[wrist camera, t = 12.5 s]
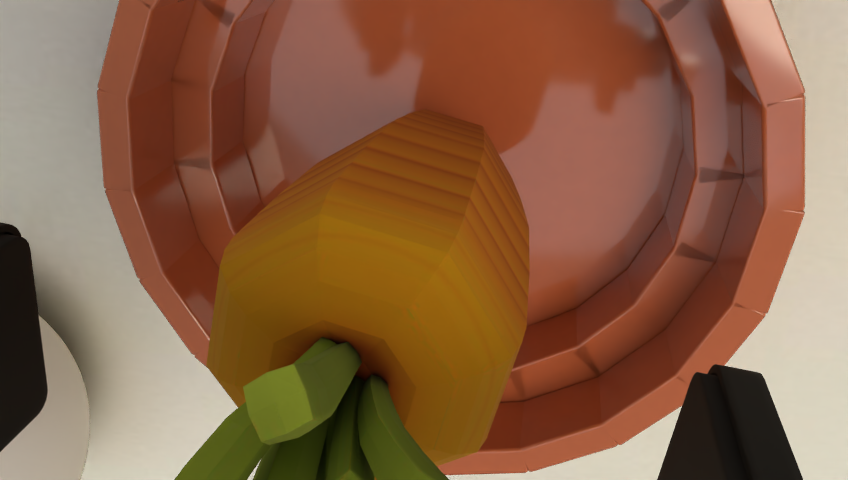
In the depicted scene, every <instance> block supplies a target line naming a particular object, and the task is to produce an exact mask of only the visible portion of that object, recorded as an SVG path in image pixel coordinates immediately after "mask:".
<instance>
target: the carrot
mask: <svg viewBox="0 0 848 480" xmlns="http://www.w3.org/2000/svg"><path fill="white" fill-rule="evenodd" d="M529 273H530V260H529V225H528V222H527V218H526V215H525V211H524V208H523V205H522V201H521V198H520V196H519V193H518V191H517V189H516V186H515V184H514V182H513V179H512V177H511V175H510V173H509V172H508V170H507V168H506V166H505V164H504V163H503V161H502V159H501V157H500V156H499V154H498V152H497V150H496V149H495V147H494V145H493V143H492V141H491V140H490V138H489V136H488V134H487V133H486V131H485V129H484V127H483V126H481V125H478V124H474V123H471V122H467V121H464V120H461V119H457V118H454V117H450V116H447V115H444V114H440V113H437V112H433V111H430V110H427V109H423V110H419V111H416V112H412V113H409V114H407V115H405V116H402V117H400V118H398V119H396V120H394V121H392V122H390V123H388V124H386V125H385V126H383V127H381V128H379V129H377V130H376V131H374V132H372V133H370V134H368V135H367V136H365V137H363V138H361V139H359V140H358V141H356V142H354V143H352V144H350V145H349V146H347V147H345V148H343V149H341V150H340V151H338V152H336V153H334V154H332V155H331V156H329V157H327V158H325V159H323V160H322V161H320V162H318V163H316V164H315V165H314V166H313V167H312V168H310V169H309V170H308V171H307V172H306V173H304V174H303V175H302V176H301V177H299V178H298V179H297V180H296V181H295V182H293V183H292V184H291V185H290V186H289V187H287V188H286V189H285V190H284V191H282V192H281V193H280V194H279V195H278V196H277V197H276V198H275V199H273V200H272V201H271V202H270V203H269V204H268V205H267V206H266V207H265V208H264V209H263V210H262V211H260V212H259V213H258V214H257V215H256V216H255V217H254V218H253V219H252V220H251V221H250V222H249V223H248V224H246V225H245V226H244V227H243V228H242V229H241V230H240V231H239V232H238V233H237V234H236V235H235V236H233V238H232V239H231V241H230V242H229V244H228V245H227V247H226V248H225V250H224V253H223V257H222V260H221V264H220V268H219V276H218V283H217V290H216V298H215V305H214V312H213V319H212V327H211V334H210V341H209V348H208V356H207V363H206V366H207V367H208V369H209V370H210V371H211V372H212V374H213V375H214V376H215V378H216V379H217V380H218V382H219V383H220V384H221V386H222V387H223V388H224V390H225V391H226V392H227V393H228V395H229V396H230V397H231V399H232V400H233V401H234V403H235V404H236V405H237V407H238V409H236V410H235V411H234V412H233V413H232V414H231V415H229V416H228V417H227V418H226V419H225V420H224V421H223V422H222V424H221V425H220V426H219V427H218V428H217V429H216V430H215V432H214V433H213V434H212V435H211V436H210V437H209V439H208V440H207V441H206V442H205V443H204V444H203V445H202V447H201V448H200V449H199V450H198V451H197V452H196V454H195V455H194V456H193V457H192V458H191V459H190V460H189V462H188V463H187V464H186V465H185V466H184V468H183V469H182V470H181V472H180V473H179V474H178V476H177V477H176V478H175V480H247V479H248V477H249V476H250V474H251V473H252V471H253V470H254V468H255V467H256V465H257V464H258V463H259V461H260V460H261V461H260V463H259V466H258V468H257V471H256V473H255V476H254V478H253V480H449V479H448V478H447V477H446V476H445V475H444V474H443V473H442V472H441V470H440V469H439V468H438V467H437V466H439V465H442V464H445V463H448V462H451V461H453V460H456V459H459V458H462V457H465V456H468V455H470V454H473V453H476V452H478V450H479V449H480V448H481V446H482V445H483V443H484V442H485V440H486V439H487V436H488V433H489V430H490V428H491V425H492V422H493V420H494V417H495V414H496V411H497V409H498V406H499V403H500V401H501V398H502V395H503V392H504V390H505V387H506V384H507V382H508V379H509V376H510V373H511V371H512V368H513V365H514V363H515V360H516V357H517V354H518V352H519V349H520V346H521V344H522V341H523V337H524V334H525V331H526V327H527V309H528V291H529ZM261 458H262V459H261Z"/></svg>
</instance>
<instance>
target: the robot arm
mask: <svg viewBox="0 0 848 480" xmlns="http://www.w3.org/2000/svg"><path fill="white" fill-rule="evenodd" d="M47 394H48V386H47V378H46V370H45V362H44V354H43V347H42V339H41V331H40V323H39V315H38V307H37V299H36V291H35V283H34V275H33V267H32V259H31V251H30V246H29V243H28V242H27V240H26V239H24V238H23V237H21V234H20V232H19V231H18V229H17V228H16V227H14V226H13V225H10V224H5V223H0V452H1V451H2V450H3V449H4V448H5V447H6V446H7V445H8V444H9V443H10V442H11V441H12V440H13V439H14V438H15V437H16V436H17V435H18V434H19V433H20V432H21V431H22V430H23V429H24V428H25V427H26V426H27V425H28V424H29V423H30V422H31V421H32V420H33V419H34V418H35V417H36V416H37V415H38V414H39V413H40V412H41V410H42V409H43V407H44V405H45V402H46V399H47ZM657 480H803V478H802V476H801V473H800V470H799V468H798V465H797V463H796V460H795V457H794V455H793V452H792V450H791V447H790V444H789V442H788V439H787V437H786V434H785V431H784V429H783V426H782V424H781V421H780V418H779V416H778V413H777V411H776V408H775V405H774V403H773V400H772V398H771V395H770V392H769V390H768V387H767V385H766V382H765V379H764V378H763V376H762V374H760V373H758V372H753V371H748V370H743V369H738V368H733V367H727V366H722V365H717V364H715V365H713V366H712V367H711V368H710V370H709V372H708V374H705V373H700V372H696V373H695V374H694V375H693V377H692V379H691V382H690V384H689V387H688V390H687V393H686V396H685V399H684V402H683V405H682V408H681V411H680V414H679V417H678V420H677V423H676V426H675V429H674V432H673V435H672V438H671V441H670V444H669V447H668V450H667V453H666V456H665V459H664V461H663V464H662V467H661V470H660V473H659V476H658V479H657Z"/></svg>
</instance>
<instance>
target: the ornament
mask: <svg viewBox="0 0 848 480" xmlns="http://www.w3.org/2000/svg"><path fill="white" fill-rule="evenodd" d="M39 323H40V331H41V339H42V347H43V354H44V362H45V370H46V378H47V386H48V394H47V399H46V402H45V405H44V407H43V409H42V410H41V412H40V413H39V414H38V415H37V416H36V417H35V418H34V419H33V420H32V421H31V422H30V423H29V424H28V425H27V426H26V427H25V428H24V429H23V430H22V431H21V432H20V433H19V434H18V435H17V436H16V437H15V438H14V439H13V440H12V441H11V442H10V443H9V444H8V445H7V446H6V447H5V448H4V449H3V450H2V451H1V452H0V480H80V479H81V476H82V473H83V470H84V466H85V462H86V457H87V452H88V446H89V436H90V411H89V402H88V397H87V392H86V388H85V384H84V381H83V378H82V375H81V373H80V370H79V368H78V366H77V364H76V362H75V360H74V358H73V356H72V354H71V353H70V351H69V349H68V348H67V346H66V345H65V343H64V342H63V341H62V339H61V338H60V337H59V336H58V334H57V333H56V332H55V331H54V330H53V329H52V327H51V326H50V325H49V324H48V323H47V322H46V321H45V320H43V319H42V318H41V317H40V316H39Z"/></svg>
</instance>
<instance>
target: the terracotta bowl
mask: <svg viewBox="0 0 848 480" xmlns="http://www.w3.org/2000/svg"><path fill="white" fill-rule="evenodd" d="M98 88H99V89H98V90H97V99H98V113H99V127H100V141H101V155H102V168H103V182H104V188H105V189H106V190H105V193H106V195H107V198H108V201H109V203H110V206H111V209H112V211H113V214H114V217H115V219H116V222H117V225H118V227H119V230H120V233H121V235H122V238H123V241H124V243H125V246H126V248H127V251H128V254H129V256H130V259H131V262H132V264H133V267H134V270H135V272H136V275H137V277H138V278H139V279H140V280H139V281H140V283H141V284H142V286H143V287H144V288H145V290H146V291H147V293H148V294H149V295H150V297H151V298H152V299H153V301H154V302H155V304H156V305H157V306H158V308H159V309H160V311H161V312H162V313H163V315H164V316H165V317H166V319H167V320H168V322H169V323H170V324H171V326H172V327H173V329H174V330H175V331H176V333H177V334H178V335H179V337H180V338H181V340H182V341H183V342H184V344H185V345H186V347H187V348H188V349H189V351H190V352H191V353H192V354H193V355H195V358H196V359H198V360H199V361H200V362H201V363H202V364H204V365H205V366H206V363H207V356H208V348H209V341H210V334H211V327H212V319H213V312H214V305H215V298H216V290H217V283H218V276H219V268H220V264H221V260H222V257H223V253H224V250H225V248H226V247H227V245H228V244H229V242H230V241H231V239H232V238H233V236H235V235H236V234H237V233H238V232H239V231H240V230H241V229H242V228H243V227H244V226H245V225H246V224H248V223H249V222H250V221H251V220H252V219H253V218H254V217H255V216H256V215H257V214H258V213H259V212H260V211H262V210H263V209H264V208H265V207H266V206H267V205H268V204H269V203H270V202H271V201H272V200H273V199H275V198H276V197H277V196H278V195H279V194H280V193H281V192H282V191H284V190H285V189H286V188H287V187H289V186H290V185H291V184H292V183H293V182H295V181H296V180H297V179H298V178H299V177H301V176H302V175H303V174H304V173H306V172H307V171H308V170H309V169H310V168H312V167H313V166H314V165H315V164H316V163H318V162H320V161H322V160H323V159H325V158H327V157H329V156H331V155H332V154H334V153H336V152H338V151H340V150H341V149H343V148H345V147H347V146H349V145H350V144H352V143H354V142H356V141H358V140H359V139H361V138H363V137H365V136H367V135H368V134H370V133H372V132H374V131H376V130H377V129H379V128H381V127H383V126H385V125H386V124H388V123H390V122H392V121H394V120H396V119H398V118H400V117H402V116H405V115H407V114H409V113H412V112H416V111H419V110H423V109H427V110H430V111H433V112H437V113H440V114H444V115H447V116H450V117H454V118H457V119H461V120H464V121H467V122H471V123H474V124H478V125H481V126H483V127H484V129H485V131H486V133H487V134H488V136H489V138H490V140H491V141H492V143H493V145H494V147H495V149H496V150H497V152H498V154H499V156H500V157H501V159H502V161H503V163H504V164H505V166H506V168H507V170H508V172H509V173H510V175H511V177H512V179H513V182H514V184H515V186H516V189H517V191H518V193H519V196H520V198H521V201H522V205H523V208H524V211H525V215H526V218H527V222H528V225H529V260H530V273H529V291H528V309H527V327H526V331H525V334H524V337H523V341H522V344H521V346H520V349H519V352H518V354H517V357H516V360H515V363H514V365H513V368H512V371H511V373H510V376H509V379H508V382H507V384H506V387H505V390H504V392H503V395H502V398H501V401H500V403H499V406H498V409H497V411H496V414H495V417H494V420H493V422H492V425H491V428H490V430H489V433H488V436H487V439H486V440H485V442H484V443H483V445H482V446H481V448H480V449H479V450H478V452H476V453H473V454H470V455H468V456H465V457H462V458H459V459H456V460H453V461H451V462H448V463H445V464H442V465H439V466H437V467H438V468H439V469H440V470H441V472H442V473H443V474H444V475H464V474H499V473H526V472H527V471H529V472H532V471H536V470H539V469H542V468H546V467H549V466H552V465H556V464H559V463H563V462H566V461H569V460H573V459H576V458H579V457H583V456H586V455H589V454H593V453H596V452H599V451H603V450H606V449H610V448H613V447H616V446H617V445H618V444H619V445H622V444H623V443H625V442H626V441H628V440H629V439H631V438H632V437H634V436H636V435H637V434H639V433H640V432H642V431H643V430H645V429H646V428H648V427H650V426H651V425H653V424H654V423H656V422H657V421H659V420H660V419H662V418H664V417H665V416H667V415H668V414H670V413H671V412H673V411H674V410H676V409H678V408H679V407H681V406H682V405H683V402H684V399H685V396H686V393H687V390H688V387H689V384H690V382H691V379H692V377H693V375H694V374H695V373H696V372H700V373H705V374H708V372H709V370H710V368H711V367H712V366H713V365H715V364H717V365H722V366H724V365H725V364H726V363H727V362H728V360H729V359H730V358H731V357H732V356H733V354H734V353H735V352H736V351H737V350H738V348H739V347H740V346H741V345H742V343H743V342H744V341H745V340H746V339H747V337H748V336H749V335H750V334H751V333H752V331H753V330H754V329H755V328H756V327H757V325H758V324H759V323H760V322H761V321H762V319H763V318H764V317H765V315H766V313H768V310H769V308H770V305H771V302H772V300H773V297H774V294H775V292H776V289H777V286H778V284H779V281H780V278H781V276H782V273H783V270H784V268H785V265H786V262H787V259H788V257H789V254H790V251H791V249H792V246H793V243H794V241H795V238H796V235H797V233H798V230H799V227H800V225H801V222H802V219H803V217H804V214H805V212H804V207H805V95H804V93H805V89H804V86H803V84H802V81H801V78H800V76H799V73H798V70H797V68H796V65H795V62H794V60H793V57H792V54H791V52H790V49H789V46H788V44H787V41H786V38H785V36H784V33H783V30H782V28H781V25H780V22H779V20H778V17H777V14H776V12H775V9H774V6H773V4H772V1H771V0H119V3H118V7H117V11H116V15H115V19H114V23H113V27H112V31H111V35H110V39H109V43H108V47H107V51H106V55H105V59H104V63H103V67H102V71H101V75H100V79H99V83H98ZM206 367H207V366H206ZM207 368H208V367H207Z"/></svg>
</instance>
